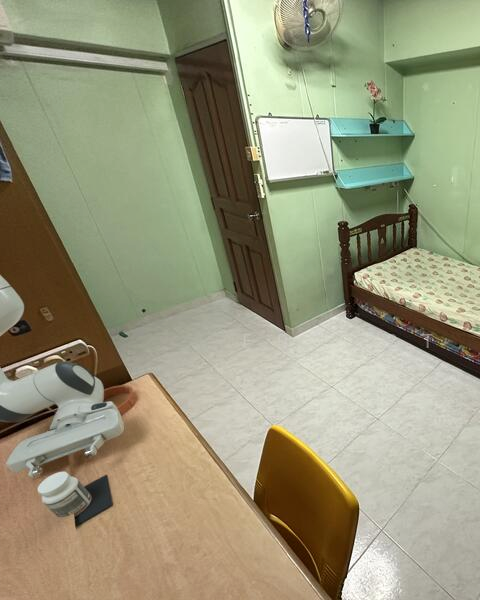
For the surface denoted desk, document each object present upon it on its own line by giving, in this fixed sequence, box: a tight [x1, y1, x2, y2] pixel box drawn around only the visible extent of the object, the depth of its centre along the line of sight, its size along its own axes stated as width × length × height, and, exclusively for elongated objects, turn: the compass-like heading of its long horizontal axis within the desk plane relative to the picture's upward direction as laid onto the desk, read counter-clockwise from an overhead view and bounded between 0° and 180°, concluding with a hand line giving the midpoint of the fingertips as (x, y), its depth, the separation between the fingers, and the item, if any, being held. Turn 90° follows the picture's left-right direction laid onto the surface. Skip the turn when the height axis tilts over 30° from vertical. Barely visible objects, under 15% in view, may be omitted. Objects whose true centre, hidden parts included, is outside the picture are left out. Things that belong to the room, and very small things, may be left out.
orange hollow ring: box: [104, 384, 138, 416], centre depth 96 cm, size 13×13×3 cm
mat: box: [73, 474, 114, 528], centre depth 71 cm, size 12×10×1 cm
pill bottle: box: [37, 471, 91, 518], centre depth 69 cm, size 6×6×10 cm
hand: (63, 464), depth 72 cm, fingers open, 8 cm apart
